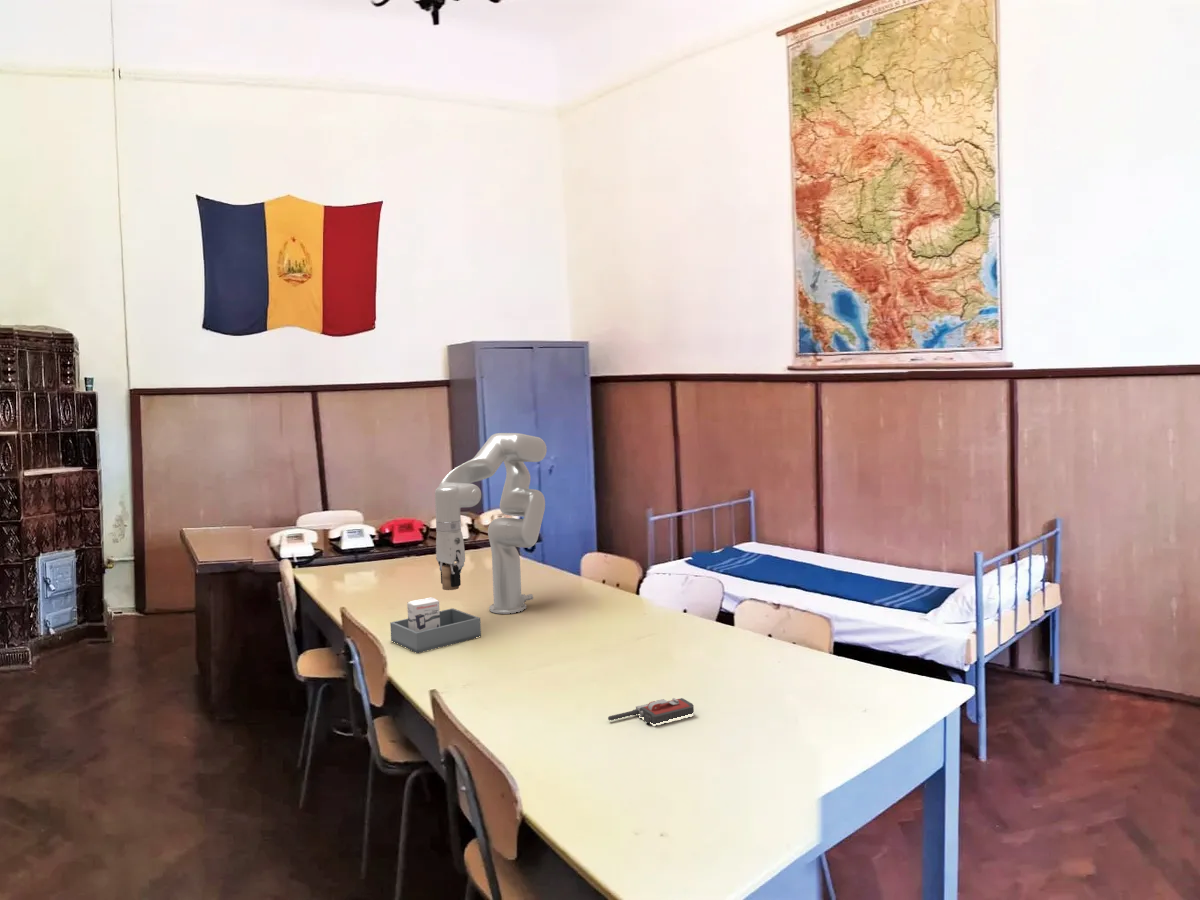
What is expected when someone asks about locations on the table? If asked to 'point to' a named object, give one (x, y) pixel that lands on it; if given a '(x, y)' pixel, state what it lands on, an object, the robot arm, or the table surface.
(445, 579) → the walnut cylinder
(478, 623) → the tote
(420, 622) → the ink box
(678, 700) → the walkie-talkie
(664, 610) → the table surface
